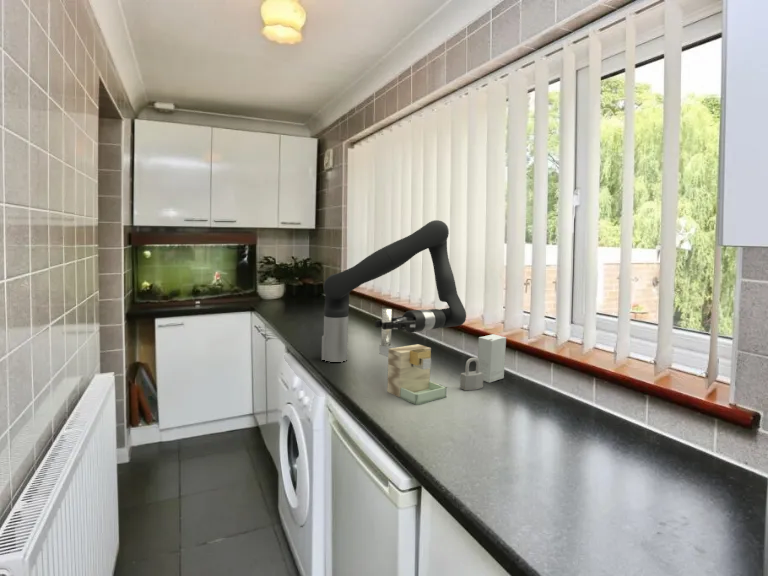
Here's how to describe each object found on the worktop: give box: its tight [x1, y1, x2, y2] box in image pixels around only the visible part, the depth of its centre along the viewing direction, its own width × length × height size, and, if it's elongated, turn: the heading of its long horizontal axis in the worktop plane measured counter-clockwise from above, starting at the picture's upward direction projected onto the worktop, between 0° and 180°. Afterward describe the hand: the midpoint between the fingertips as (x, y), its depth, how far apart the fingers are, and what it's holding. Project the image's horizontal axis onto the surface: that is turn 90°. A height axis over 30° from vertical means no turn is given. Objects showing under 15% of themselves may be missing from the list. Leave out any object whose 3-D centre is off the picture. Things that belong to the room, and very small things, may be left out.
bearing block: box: [386, 343, 432, 398], centre depth 139 cm, size 6×12×14 cm, turn 127°
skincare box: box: [477, 333, 507, 383], centre depth 154 cm, size 8×6×15 cm
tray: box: [399, 380, 448, 406], centre depth 134 cm, size 7×12×3 cm, turn 127°
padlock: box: [459, 357, 484, 391], centre depth 144 cm, size 7×4×10 cm, turn 118°
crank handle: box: [378, 308, 432, 370], centre depth 140 cm, size 22×3×15 cm, turn 38°
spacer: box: [410, 348, 432, 366], centre depth 135 cm, size 4×5×4 cm
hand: (379, 325), depth 145 cm, fingers closed on crank handle, 3 cm apart
